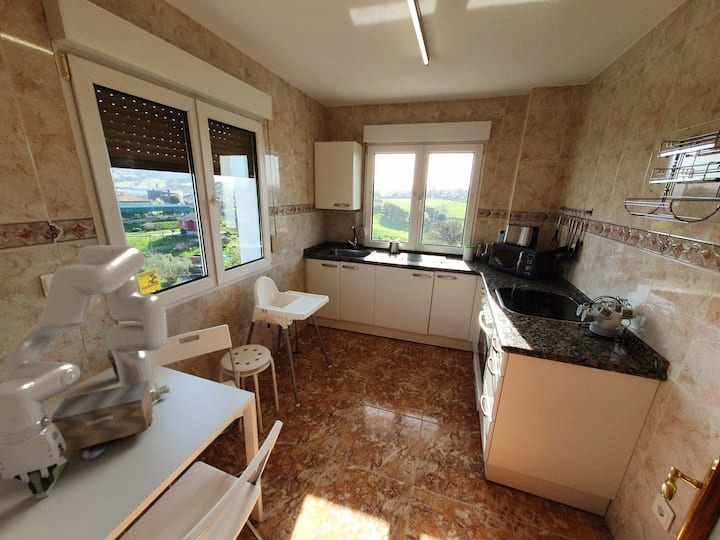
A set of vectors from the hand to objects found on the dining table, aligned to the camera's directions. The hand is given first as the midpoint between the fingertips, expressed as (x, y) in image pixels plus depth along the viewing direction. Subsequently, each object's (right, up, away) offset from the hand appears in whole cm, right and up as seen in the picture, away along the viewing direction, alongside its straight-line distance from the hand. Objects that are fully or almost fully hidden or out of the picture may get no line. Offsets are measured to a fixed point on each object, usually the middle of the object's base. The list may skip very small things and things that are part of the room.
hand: (43, 487), depth 71 cm
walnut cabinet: (+3, +2, +17) cm, 17 cm away
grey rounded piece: (+2, +1, +12) cm, 12 cm away
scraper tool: (-2, -1, +4) cm, 4 cm away
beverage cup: (-19, +10, +46) cm, 51 cm away
